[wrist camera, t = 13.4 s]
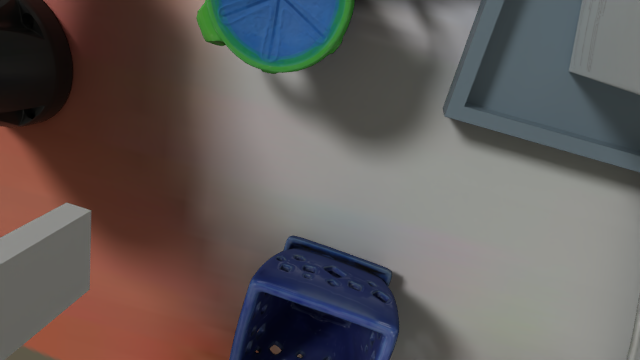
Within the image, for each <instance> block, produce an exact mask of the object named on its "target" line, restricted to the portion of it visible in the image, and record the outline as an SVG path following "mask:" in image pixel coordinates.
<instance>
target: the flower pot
mask: <svg viewBox="0 0 640 360" xmlns="http://www.w3.org/2000/svg"><path fill="white" fill-rule="evenodd" d="M391 277H392V272H391V271H390V270H389V269H387V268H385V267H383V266H380V265H378V264H375V263H372V262H369V261H367V260H364V259H361V258H358V257H356V256H353V255H350V254H347V253H345V252H342V251H339V250H336V249H333V248H331V247H328V246H325V245H322V244H319V243H316V242H313V241H310V240H307V239H304V238H301V237H297V236H290V237H288V239H287V241H286V244H285V247H284V251H282V252H280V253H278V254H276V255H275V256H273V257H271V258H270V259H269V260H268V261H266V262H265V263H264V264H263V265H262V266H261V267H260V268H259V270H258V271H257V272H256V273H255V275H254V276H253V278H252V279H251V281H250V284H249V287H248V290H247V293H246V297H245V300H244V303H243V307H242V310H241V314H240V317H239V321H238V324H237V328H236V332H235V336H234V340H233V345H232V349H231V354H230V359H229V360H390V357H391V355H392V352H393V350H394V347H395V344H396V341H397V337H398V333H399V318H398V310H397V305H396V302H395V299H394V296H393V294H392V292H391V290H390V289H389V287H388V286H389V283H390V280H391ZM258 330H259V331H258ZM257 331H258V332H257ZM273 345H276V346H278V347H279V348H280V349H281V350H282V351H281V352H280V353H279V354H273V353H272V352H271V351H270V347H272V346H273ZM256 350H257V351H258V352H259V353H256V352H255V351H256ZM298 354H301V355H302V356H303V357H302V358H299V357H297V355H298Z"/></svg>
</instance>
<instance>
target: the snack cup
mask: <svg viewBox="0 0 640 360" xmlns="http://www.w3.org/2000/svg"><path fill="white" fill-rule="evenodd" d="M354 2H355V0H206V1H205V3H204V4H203V5H202V7H201V8H200V10H199V11H198V14H197V22H198V25H199V27H200V30H201V32H202V35H203V37H204V39H205V41H206V42H209V43H212V44H215V45H220V46H224V45H226V46H227V47H228V48H229V49H230V50H231V51H232V52H233V53H234V54H235V55H236V56H237V57H239V58H240V59H241V60H243V61H244V62H245V63H247V64H249V65H251V66H253V67H256V68H259V69H261V70H262V71H263V72H267V73H271V74H276V73H278V72H282V73H283V72H293V71H299V70H302V69H305V68H307V67H310V66H313V65H314V64H316V63H318V62H319V61H321V60H322V59H323V58H325V57H326V56H327V55H329V54H332V53H334V52H335V50H336V49H337V48H338V47H339V45H340V44H341V43H342V39H343V36H344V34H345V32H346V30H347V28H348V26H349V23H350V20H351V17H352V14H353V9H354Z"/></svg>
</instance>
